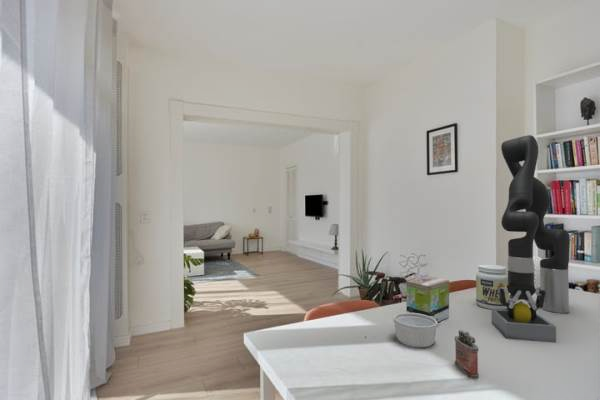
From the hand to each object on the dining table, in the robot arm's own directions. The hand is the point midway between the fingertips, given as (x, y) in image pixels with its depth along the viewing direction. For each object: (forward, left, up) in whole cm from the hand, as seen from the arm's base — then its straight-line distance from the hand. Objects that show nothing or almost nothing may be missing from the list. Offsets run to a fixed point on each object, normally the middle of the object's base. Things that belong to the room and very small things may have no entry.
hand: (521, 318), depth 112 cm
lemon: (0, 0, -2) cm, 2 cm away
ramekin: (+15, -36, -5) cm, 39 cm away
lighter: (+32, -25, -5) cm, 41 cm away
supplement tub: (-29, 0, -5) cm, 29 cm away
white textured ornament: (-60, +26, -5) cm, 65 cm away
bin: (0, 0, -4) cm, 4 cm away
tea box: (-7, -29, -5) cm, 30 cm away
